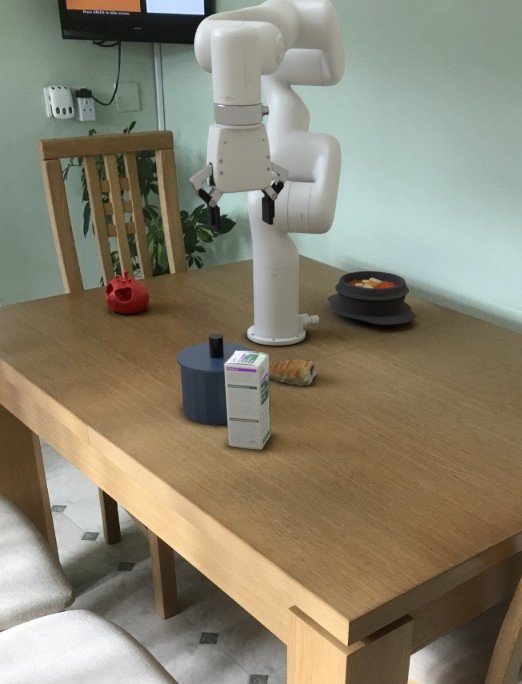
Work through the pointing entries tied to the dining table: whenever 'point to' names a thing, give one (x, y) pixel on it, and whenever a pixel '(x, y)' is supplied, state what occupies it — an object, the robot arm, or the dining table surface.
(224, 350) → the lid
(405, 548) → the dining table surface
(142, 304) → the pomegranate
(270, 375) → the pastry
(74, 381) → the dining table surface
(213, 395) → the pot
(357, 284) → the casserole
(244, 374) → the syrup box
